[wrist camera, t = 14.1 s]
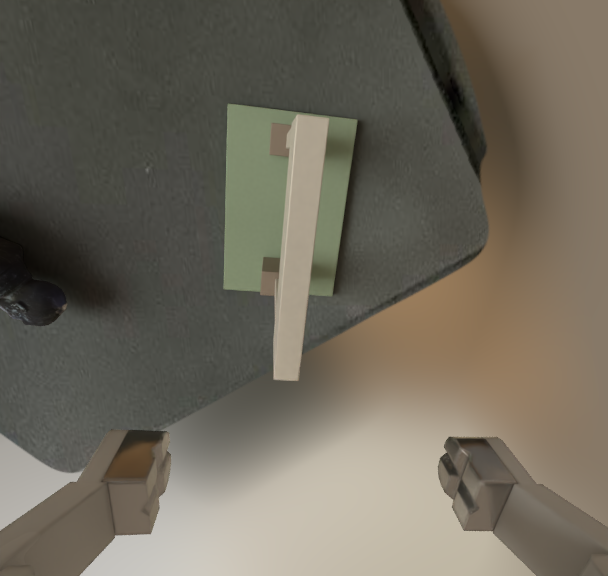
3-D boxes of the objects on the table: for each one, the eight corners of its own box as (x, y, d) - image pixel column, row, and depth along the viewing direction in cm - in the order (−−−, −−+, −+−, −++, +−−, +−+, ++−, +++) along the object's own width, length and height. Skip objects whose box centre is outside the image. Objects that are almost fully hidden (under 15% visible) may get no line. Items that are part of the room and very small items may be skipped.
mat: (356, 120, 27) (357, 119, 27) (331, 294, 33) (332, 296, 32) (228, 104, 26) (227, 103, 26) (224, 287, 31) (223, 289, 31)
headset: (312, 131, 27) (359, 106, 12) (297, 280, 31) (317, 390, 17) (271, 126, 26) (269, 94, 12) (261, 278, 31) (251, 388, 16)
